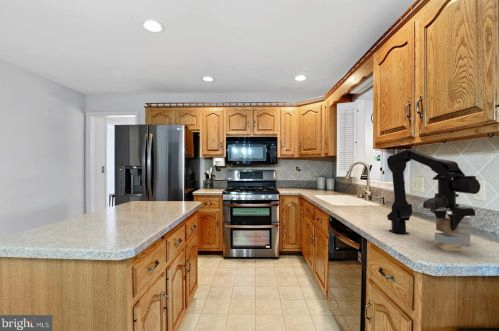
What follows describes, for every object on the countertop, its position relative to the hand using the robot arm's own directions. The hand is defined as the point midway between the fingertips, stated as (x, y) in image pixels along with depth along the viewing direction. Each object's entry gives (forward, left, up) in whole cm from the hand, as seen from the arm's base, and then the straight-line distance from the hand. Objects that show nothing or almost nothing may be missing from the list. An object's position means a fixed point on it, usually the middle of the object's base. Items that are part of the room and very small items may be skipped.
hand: (447, 228), depth 99 cm
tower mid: (0, 0, -5) cm, 5 cm away
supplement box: (-6, +11, -8) cm, 15 cm away
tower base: (0, 0, -8) cm, 8 cm away
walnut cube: (0, 0, -1) cm, 1 cm away
